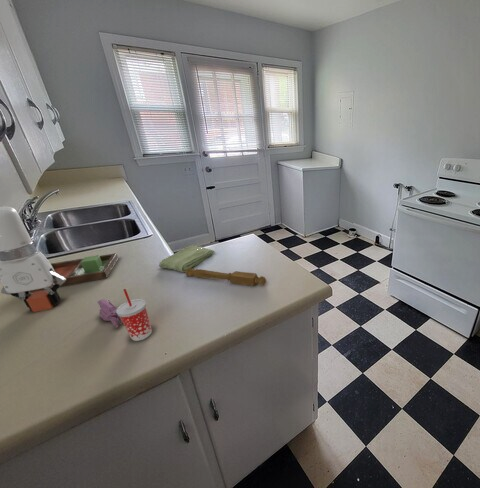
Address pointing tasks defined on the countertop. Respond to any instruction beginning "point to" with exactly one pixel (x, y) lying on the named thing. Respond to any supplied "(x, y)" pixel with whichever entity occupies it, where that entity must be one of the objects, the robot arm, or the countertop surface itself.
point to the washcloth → (186, 258)
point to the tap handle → (228, 276)
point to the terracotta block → (39, 301)
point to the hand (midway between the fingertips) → (45, 305)
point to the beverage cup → (135, 318)
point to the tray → (82, 270)
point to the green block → (92, 263)
